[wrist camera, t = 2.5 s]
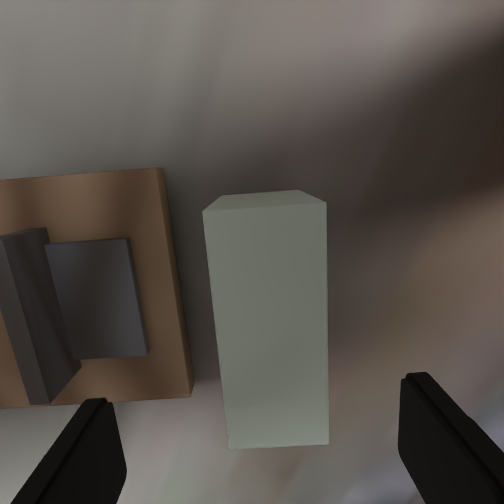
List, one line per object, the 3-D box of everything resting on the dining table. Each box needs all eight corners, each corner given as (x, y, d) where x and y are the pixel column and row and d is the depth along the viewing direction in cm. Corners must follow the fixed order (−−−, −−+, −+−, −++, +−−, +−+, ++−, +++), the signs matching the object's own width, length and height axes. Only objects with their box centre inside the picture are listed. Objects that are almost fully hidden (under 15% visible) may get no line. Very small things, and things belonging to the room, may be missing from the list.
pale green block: (298, 189, 20) (326, 202, 12) (303, 352, 23) (328, 444, 15) (221, 195, 20) (202, 211, 13) (237, 356, 23) (229, 449, 16)
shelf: (163, 167, 20) (133, 167, 15) (194, 383, 24) (179, 438, 19) (-113, 189, 20) (-228, 196, 15) (-35, 397, 24) (-107, 454, 19)
